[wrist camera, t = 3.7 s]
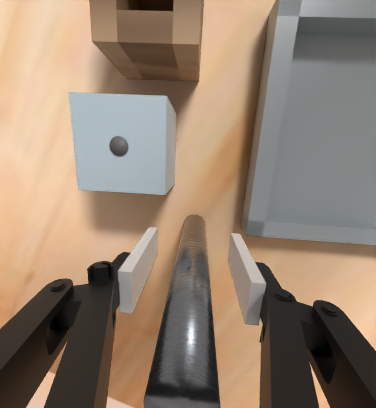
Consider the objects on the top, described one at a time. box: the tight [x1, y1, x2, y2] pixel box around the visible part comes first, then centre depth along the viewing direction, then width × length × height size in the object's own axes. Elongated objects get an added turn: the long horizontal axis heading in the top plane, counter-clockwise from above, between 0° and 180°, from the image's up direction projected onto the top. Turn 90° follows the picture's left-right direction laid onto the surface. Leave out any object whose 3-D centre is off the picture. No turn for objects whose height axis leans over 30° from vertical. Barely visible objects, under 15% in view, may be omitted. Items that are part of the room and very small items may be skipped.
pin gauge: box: [144, 215, 220, 408], centre depth 14 cm, size 2×2×16 cm
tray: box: [241, 0, 376, 245], centre depth 17 cm, size 20×20×2 cm
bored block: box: [89, 0, 204, 81], centre depth 14 cm, size 7×7×6 cm
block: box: [69, 92, 177, 195], centre depth 17 cm, size 7×7×6 cm
